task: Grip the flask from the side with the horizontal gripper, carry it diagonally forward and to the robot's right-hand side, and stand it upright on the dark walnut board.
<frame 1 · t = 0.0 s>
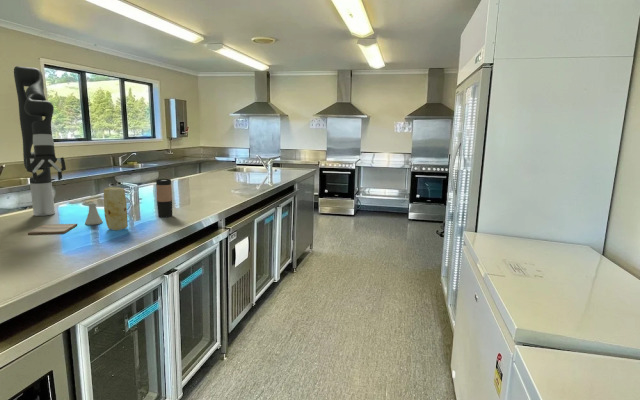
hand: (48, 180, 168), 22 cm above the countertop, tool pointing down, fingers open, 8 cm apart
walnut board: (53, 230, 169), on the countertop
food model: (116, 229, 173), on the countertop
flask: (94, 223, 182), on the countertop
travel mug: (165, 216, 202), on the countertop
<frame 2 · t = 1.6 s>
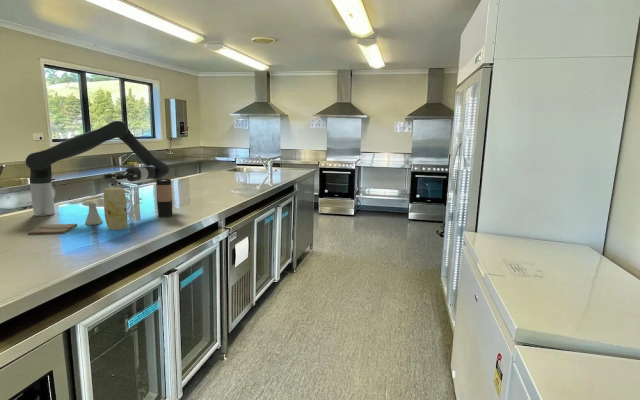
hand: (110, 177, 188), 22 cm above the countertop, tool horizontal, fingers open, 8 cm apart
nothing on the countertop moved.
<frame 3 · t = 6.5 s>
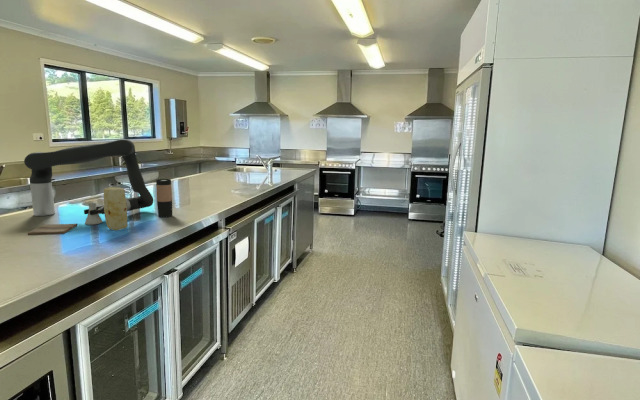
hand: (87, 212, 179), 6 cm above the countertop, tool horizontal, fingers closed on flask, 3 cm apart
flask: (94, 223, 182), on the countertop, touching gripper
everything else where it was.
when the fingers open (8 cm above the countertop, at t = 11.4 s): flask drops 1 cm, resting on walnut board.
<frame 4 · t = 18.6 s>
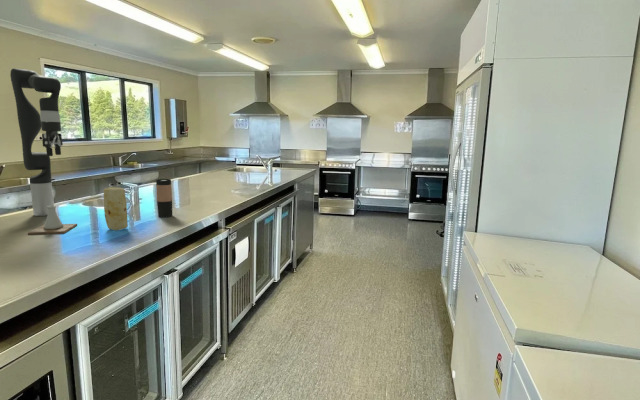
hand: (54, 155, 177), 33 cm above the countertop, tool pointing down, fingers open, 8 cm apart
flask: (53, 228, 169), point 1 cm above the countertop, touching walnut board
everything else where it was.
at the end: flask inside the target area on the walnut board (0.1 cm from its centre), point 0.8 cm above the walnut board's base; flask tilted 0°; the gripper is holding nothing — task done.
